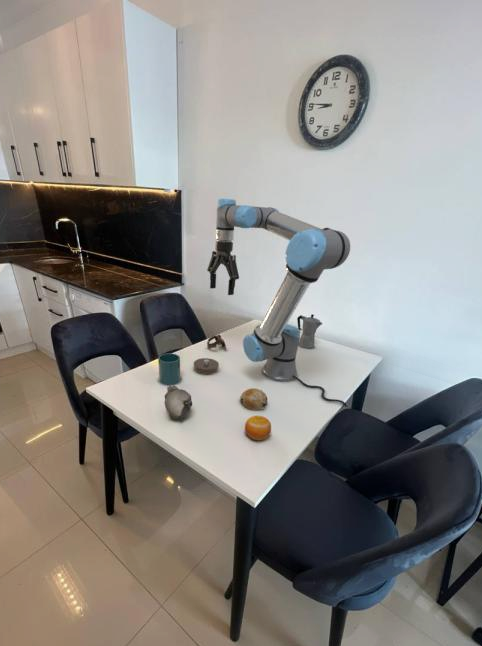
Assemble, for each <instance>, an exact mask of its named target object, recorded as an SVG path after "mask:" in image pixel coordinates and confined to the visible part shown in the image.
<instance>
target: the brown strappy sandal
mask: <svg viewBox="0 0 482 646" xmlns="http://www.w3.org/2000/svg"><path fill="white" fill-rule="evenodd" d="M213 340H214V342H212V341H213ZM211 342H212V343H211ZM206 344H207V345H206V347H207V348H208V349H214V348H215V349H218V347H217V345H218V346H221V347H222V348H223V349H224V351H225V352H226V351H227V346H226V345H227V344H226V342H225V340H224V338H222V335H220V334H216V335H212V336H211V337H209V338H208V339H207V342H206Z"/></svg>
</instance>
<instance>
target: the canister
mask: <svg viewBox="0 0 482 646" xmlns="http://www.w3.org/2000/svg"><path fill="white" fill-rule="evenodd" d="M157 363H158V380H159V382H160V383H161V384H162V385H165V386H176V385H177V384H179V383H180V382H181V357H180V356H179V355H178V354H176V353H172V352H171V353H169V352H168V353H167V352H166V353H162V354H160V355H159V356H158V358H157Z"/></svg>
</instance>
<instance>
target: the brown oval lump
mask: <svg viewBox="0 0 482 646" xmlns="http://www.w3.org/2000/svg"><path fill="white" fill-rule="evenodd" d="M239 400H240V401H241V402H240V403H241V404H242V406H243V407H245V408H246V410H247V409H248V410H252V411H260V410H261V411H262V410H264V409H265V407H266V406H267V404H268V396H267V394H266V392H264V391H263V390H262V389H259V388H248V389H246V390H244V391H243V392H242V393H241V395H240V396H239Z"/></svg>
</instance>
